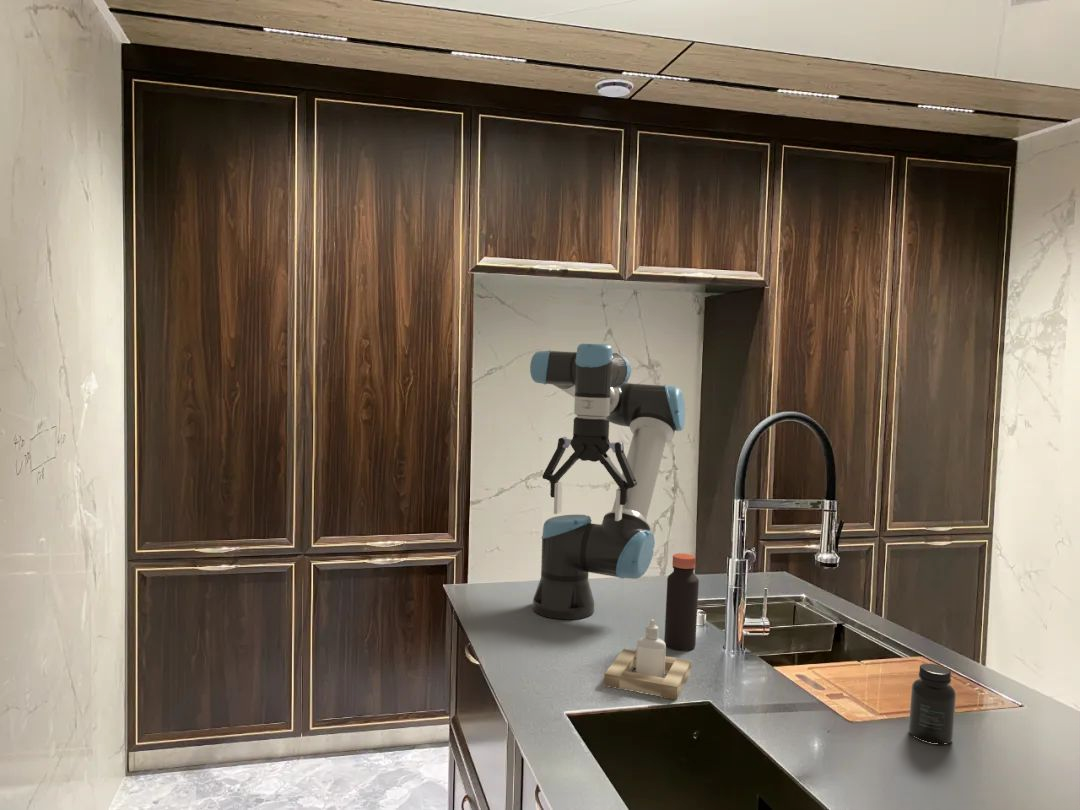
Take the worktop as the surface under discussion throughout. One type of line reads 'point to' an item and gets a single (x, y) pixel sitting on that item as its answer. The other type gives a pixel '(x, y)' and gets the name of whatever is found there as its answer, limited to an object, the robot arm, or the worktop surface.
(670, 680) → the square wooden frame
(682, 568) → the vinegar
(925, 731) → the supplement bottle
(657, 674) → the eye dropper bottle
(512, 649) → the worktop surface
